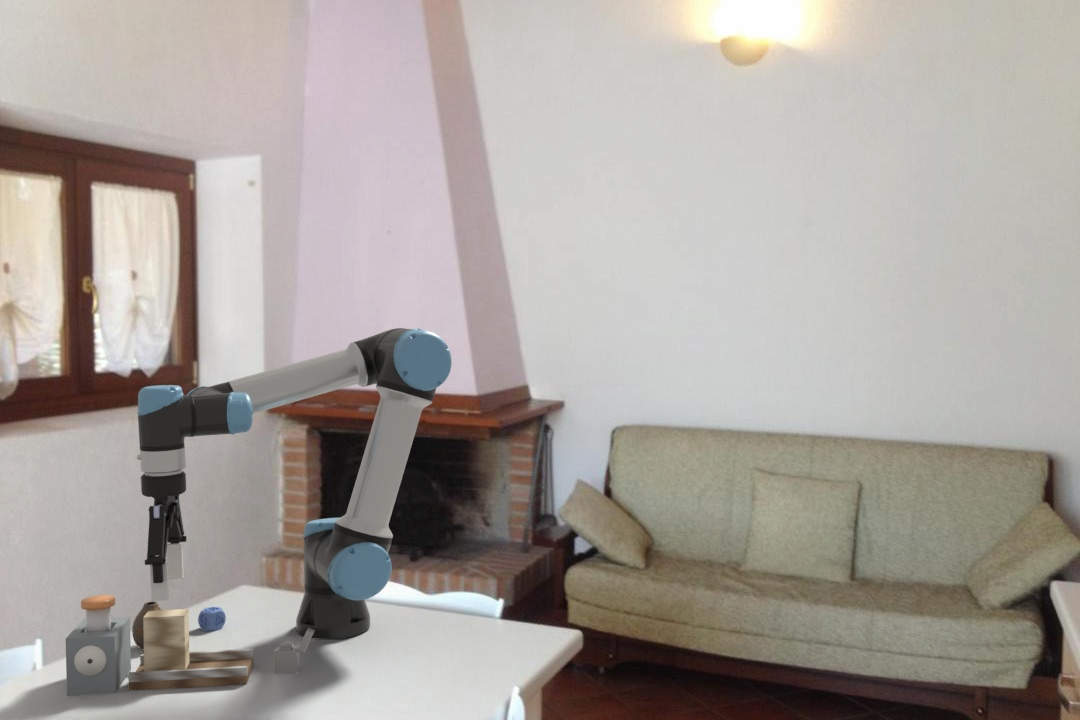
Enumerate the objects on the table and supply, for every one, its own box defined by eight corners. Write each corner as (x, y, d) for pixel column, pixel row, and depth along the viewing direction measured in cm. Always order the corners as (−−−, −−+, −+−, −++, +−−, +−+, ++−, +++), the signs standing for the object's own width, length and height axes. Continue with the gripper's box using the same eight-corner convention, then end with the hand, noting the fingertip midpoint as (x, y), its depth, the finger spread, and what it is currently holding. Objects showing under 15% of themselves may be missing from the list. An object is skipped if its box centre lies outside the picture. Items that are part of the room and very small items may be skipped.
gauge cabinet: (131, 669, 185) (129, 616, 185) (114, 694, 174) (113, 637, 173) (85, 672, 184) (83, 618, 183) (65, 696, 173) (64, 639, 172)
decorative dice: (226, 627, 210) (225, 608, 210) (210, 632, 206) (210, 613, 206) (213, 624, 212) (212, 605, 212) (197, 629, 209) (197, 610, 208)
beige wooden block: (189, 662, 184) (188, 608, 183) (185, 670, 180) (184, 615, 179) (149, 664, 182) (148, 610, 182) (144, 672, 178) (143, 617, 178)
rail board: (253, 664, 188) (253, 648, 188) (246, 684, 179) (246, 667, 178) (141, 670, 185) (141, 654, 185) (128, 690, 175) (128, 674, 175)
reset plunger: (119, 637, 182) (118, 594, 182) (111, 648, 177) (110, 603, 176) (87, 639, 181) (86, 595, 181) (77, 650, 176) (76, 605, 175)
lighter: (274, 673, 184) (274, 630, 183) (276, 670, 185) (275, 627, 185) (313, 672, 184) (313, 630, 184) (315, 669, 186) (314, 627, 185)
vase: (157, 654, 194) (156, 609, 193) (125, 651, 195) (124, 607, 195) (177, 642, 200) (176, 599, 200) (146, 639, 202) (145, 597, 201)
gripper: (156, 461, 191) (160, 571, 192) (123, 486, 166) (129, 611, 167) (197, 459, 192) (201, 568, 193) (171, 484, 167) (176, 608, 169)
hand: (168, 589), depth 180 cm, fingers open, 13 cm apart
